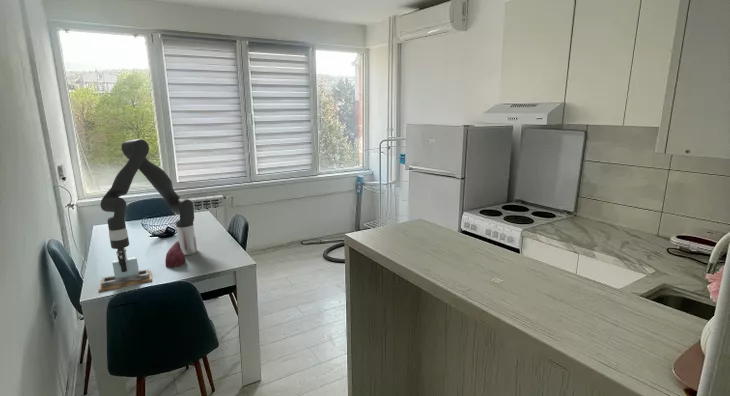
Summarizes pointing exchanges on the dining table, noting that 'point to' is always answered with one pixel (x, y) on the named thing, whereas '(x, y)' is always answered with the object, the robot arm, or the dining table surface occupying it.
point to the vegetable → (175, 256)
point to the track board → (125, 280)
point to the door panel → (131, 268)
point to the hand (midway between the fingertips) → (124, 270)
